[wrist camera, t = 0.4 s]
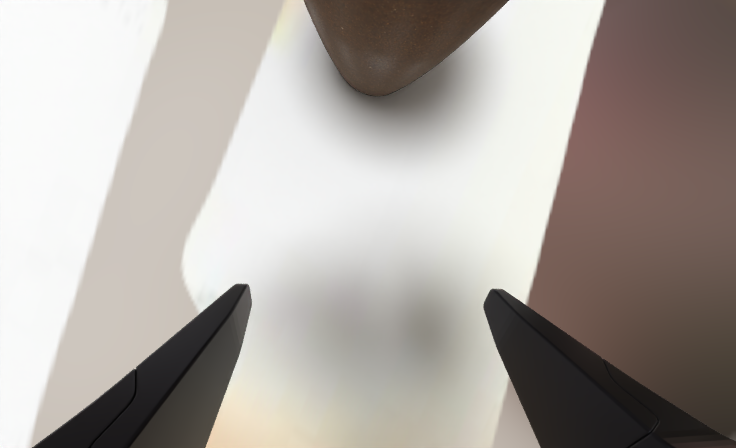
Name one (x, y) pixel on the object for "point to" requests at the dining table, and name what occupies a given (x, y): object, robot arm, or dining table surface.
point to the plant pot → (394, 36)
